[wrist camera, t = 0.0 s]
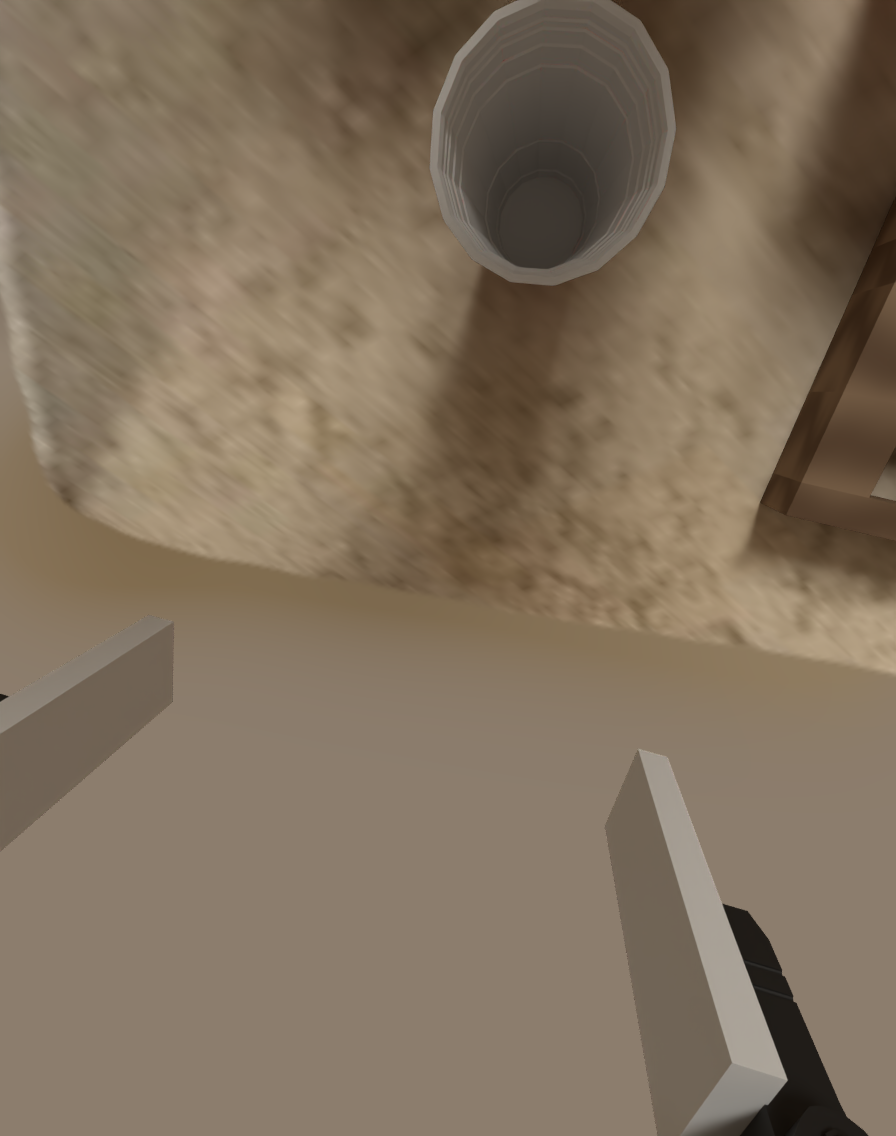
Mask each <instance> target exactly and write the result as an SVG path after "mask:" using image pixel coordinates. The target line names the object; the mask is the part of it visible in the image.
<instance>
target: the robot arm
mask: <svg viewBox="0 0 896 1136" xmlns="http://www.w3.org/2000/svg"><path fill="white" fill-rule="evenodd" d="M173 645H174V622H173V621H170V620H166V619H162V618H159V617H155V616H151V615H147V616H146V617H144V618H142V619H141V620H139V621H137V622H136V623H134V624H132V625H130V626H129V627H127V628H125V629H124V630H122V631H120V632H118V633H117V634H115V635H113V636H112V637H110V638H108V639H107V640H105V641H103V642H101V643H100V644H98V645H96V646H95V647H93V648H91V649H89V650H88V651H86V652H84V653H83V654H81V655H79V656H78V657H76V658H74V659H73V660H71V661H69V662H67V663H66V664H64V665H62V666H60V667H59V668H57V669H55V670H54V671H52V672H50V673H48V674H47V675H45V676H44V677H42V678H40V679H38V680H37V681H35V682H33V683H31V684H30V685H28V686H26V687H25V688H23V689H21V690H19V691H18V692H16V693H14V694H13V695H11V696H6V695H3V694H0V851H2V850H3V849H4V848H5V847H6V846H7V845H8V844H10V843H11V842H12V841H13V840H14V839H15V838H17V837H18V836H19V835H20V834H21V833H22V832H23V831H25V830H26V829H27V828H28V827H29V826H30V825H32V824H33V823H34V822H35V821H36V820H37V819H38V818H40V817H41V816H42V815H43V814H44V813H45V812H46V811H48V810H49V809H50V808H51V807H52V806H53V805H55V803H57V802H58V801H59V800H60V799H61V798H62V797H64V796H65V795H66V794H67V793H68V792H70V790H72V789H73V788H74V787H75V786H76V785H78V784H79V783H80V782H81V781H82V780H83V779H84V778H86V777H87V776H88V775H89V774H90V773H91V772H93V771H94V770H95V769H96V768H97V767H98V766H99V765H101V764H102V763H103V762H104V761H105V760H106V759H108V758H109V757H110V756H111V755H112V754H113V753H114V752H116V751H117V750H118V749H119V748H120V747H121V746H122V745H124V744H125V743H126V742H127V741H128V740H129V739H131V738H132V737H133V736H134V735H135V734H136V733H137V732H139V731H140V730H141V729H142V728H143V727H144V726H146V725H147V724H148V723H149V722H150V721H151V720H152V719H154V718H155V717H156V716H157V715H158V714H159V713H160V712H162V711H163V710H164V709H165V708H166V707H167V706H169V705H170V704H171V703H172V702H173V649H174V648H173ZM605 830H606V835H607V841H608V847H609V853H610V859H611V865H612V871H613V876H614V882H615V888H616V894H617V900H618V906H619V912H620V918H621V924H622V929H623V935H624V941H625V947H626V953H627V959H628V965H629V970H630V976H631V982H632V988H633V994H634V1000H635V1005H636V1011H637V1018H638V1023H639V1029H640V1035H641V1041H642V1047H643V1053H644V1059H645V1064H646V1071H647V1076H648V1082H649V1088H650V1093H651V1100H652V1105H653V1111H654V1117H655V1124H656V1129H657V1135H658V1136H868V1135H867V1134H866V1133H865V1131H864V1130H862V1129H861V1128H860V1127H858V1126H857V1125H856V1124H855V1123H854V1122H852V1121H851V1120H850V1119H848V1118H847V1117H846V1114H845V1112H844V1111H843V1109H842V1107H841V1105H840V1103H839V1101H838V1098H837V1096H836V1094H835V1091H834V1089H833V1087H832V1084H831V1082H830V1080H829V1077H828V1075H827V1073H826V1070H825V1068H824V1066H823V1063H822V1061H821V1059H820V1057H819V1054H818V1052H817V1050H816V1047H815V1045H814V1043H813V1040H812V1038H811V1036H810V1034H809V1031H808V1029H807V1027H806V1024H805V1022H804V1020H803V1017H802V1015H801V1013H800V1010H799V1008H798V1006H797V1003H795V1002H793V994H792V992H791V990H790V987H789V985H788V983H787V980H786V978H785V977H784V976H782V969H781V967H780V964H779V962H778V960H777V957H776V955H775V953H774V950H773V948H772V946H771V944H770V941H769V939H768V938H767V937H766V935H765V934H764V933H763V931H762V930H761V929H760V927H759V926H758V925H757V924H756V922H755V921H754V919H753V918H752V917H751V915H750V914H749V913H748V911H745V910H742V909H738V908H735V907H732V906H728V905H725V904H722V902H721V900H720V897H719V894H718V892H717V889H716V886H715V884H714V881H713V878H712V876H711V873H710V870H709V868H708V865H707V862H706V860H705V857H704V854H703V851H702V849H701V846H700V844H699V841H698V838H697V835H696V833H695V830H694V827H693V825H692V822H691V819H690V817H689V814H688V811H687V809H686V806H685V803H684V801H683V798H682V795H681V793H680V790H679V787H678V784H677V782H676V779H675V776H674V774H673V771H672V768H671V766H670V763H669V760H668V758H667V757H666V756H662V755H658V754H655V753H651V752H648V751H644V750H640V749H638V750H637V753H636V755H635V757H634V760H633V762H632V764H631V766H630V769H629V771H628V773H627V776H626V778H625V781H624V783H623V785H622V787H621V790H620V792H619V794H618V797H617V799H616V801H615V804H614V806H613V808H612V810H611V813H610V815H609V817H608V820H607V822H606V825H605Z"/></svg>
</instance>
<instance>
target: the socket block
mask: <svg viewBox="0 0 896 1136" xmlns="http://www.w3.org/2000/svg"><path fill="white" fill-rule="evenodd" d="M895 447H896V198H895V200H894V202H893V204H892V207H891V209H890V211H889V213H888V216H887V218H886V220H885V222H884V225H883V227H882V229H881V231H880V234H879V236H878V238H877V240H876V243H875V245H874V247H873V249H872V252H871V254H870V256H869V258H868V261H867V263H866V265H865V267H864V270H863V272H862V274H861V277H860V279H859V281H858V283H857V286H856V288H855V290H854V292H853V295H852V297H851V299H850V301H849V304H848V306H847V308H846V310H845V313H844V315H843V317H842V319H841V322H840V324H839V326H838V328H837V331H836V333H835V335H834V337H833V340H832V342H831V344H830V346H829V349H828V351H827V353H826V355H825V358H824V360H823V362H822V364H821V367H820V369H819V371H818V374H817V376H816V378H815V380H814V383H813V385H812V387H811V389H810V392H809V394H808V396H807V398H806V401H805V403H804V405H803V407H802V410H801V412H800V414H799V416H798V419H797V421H796V423H795V425H794V428H793V430H792V432H791V434H790V437H789V439H788V441H787V443H786V446H785V448H784V450H783V452H782V455H781V457H780V459H779V461H778V464H777V466H776V468H775V471H774V473H773V475H772V477H771V480H770V482H769V484H768V486H767V489H766V491H765V493H764V495H763V498H762V500H761V502H760V503H762V504H764V505H766V506H768V507H770V508H773V509H775V510H777V511H779V512H781V513H783V514H785V515H788V516H792V517H796V518H800V519H805V520H809V521H813V522H817V523H822V524H826V525H830V526H834V527H839V528H843V529H847V530H851V531H856V532H860V533H864V534H868V535H873V536H877V537H881V538H885V539H890V540H894V541H896V501H893V500H889V499H884V498H880V497H876V496H871V493H872V491H873V489H874V487H875V485H876V483H877V481H878V479H879V478H880V476H881V474H882V472H883V470H884V468H885V466H886V464H887V462H888V460H889V458H890V456H891V455H892V453H893V451H894V449H895Z"/></svg>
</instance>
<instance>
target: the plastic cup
mask: <svg viewBox="0 0 896 1136" xmlns="http://www.w3.org/2000/svg"><path fill="white" fill-rule="evenodd" d="M675 132H676V122H675V115H674V107H673V100H672V92H671V85H670V77H669V70H668V68H667V66H666V64H665V62H664V61H663V59H662V57H661V55H660V54H659V52H658V50H657V48H656V47H655V45H654V43H653V41H652V40H651V38H650V36H649V34H648V32H647V31H646V29H645V27H644V25H643V24H642V22H641V20H639V19H638V18H636V17H635V16H633V15H632V14H630V13H629V12H627V11H626V10H624V9H623V8H621V7H620V6H618V5H617V4H615V3H614V2H612V1H611V0H517V1H515V2H512V3H510V4H508V5H506V6H504V7H502V8H500V9H497V10H495V11H494V12H493V13H492V14H491V15H490V16H489V18H488V19H487V20H486V21H485V22H484V23H483V24H482V25H481V27H480V28H479V29H478V30H477V31H476V32H475V33H474V35H473V36H472V37H471V38H470V39H469V40H468V41H467V42H466V44H465V45H464V46H463V47H462V48H461V49H460V50H459V51H458V53H457V54H456V55H455V57H454V60H453V62H452V65H451V67H450V70H449V72H448V75H447V77H446V80H445V82H444V85H443V87H442V90H441V92H440V95H439V97H438V100H437V102H436V105H435V107H434V110H433V122H432V138H431V154H430V172H431V176H432V179H433V183H434V187H435V191H436V194H437V198H438V202H439V205H440V209H441V213H442V216H443V220H444V222H445V223H446V224H447V226H448V227H449V229H450V230H451V231H452V233H453V234H454V235H455V237H456V238H457V240H458V241H459V242H460V244H461V245H462V247H463V248H464V249H465V251H466V252H467V253H468V255H469V256H470V258H471V259H472V260H474V261H475V262H477V263H479V264H480V265H482V266H484V267H485V268H487V269H489V270H491V271H492V272H494V273H496V274H497V275H499V276H501V277H502V278H504V279H506V280H508V281H509V282H515V283H527V284H538V285H550V286H555V285H558V284H561V283H563V282H566V281H569V280H572V279H575V278H577V277H580V276H583V275H586V274H589V273H592V272H594V271H597V270H599V269H600V268H601V267H602V266H603V265H604V264H606V263H607V262H608V261H609V260H610V259H611V258H612V257H614V256H615V255H616V254H617V253H618V252H619V251H620V250H622V249H623V248H624V247H625V246H626V245H627V244H628V243H629V242H631V241H632V240H633V239H634V238H635V237H636V236H637V235H638V233H639V231H640V229H641V228H642V226H643V224H644V222H645V221H646V219H647V217H648V215H649V214H650V212H651V210H652V208H653V206H654V205H655V203H656V201H657V199H658V198H659V196H660V194H661V192H662V191H663V189H664V187H665V182H666V177H667V172H668V167H669V162H670V157H671V152H672V147H673V142H674V137H675Z"/></svg>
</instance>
